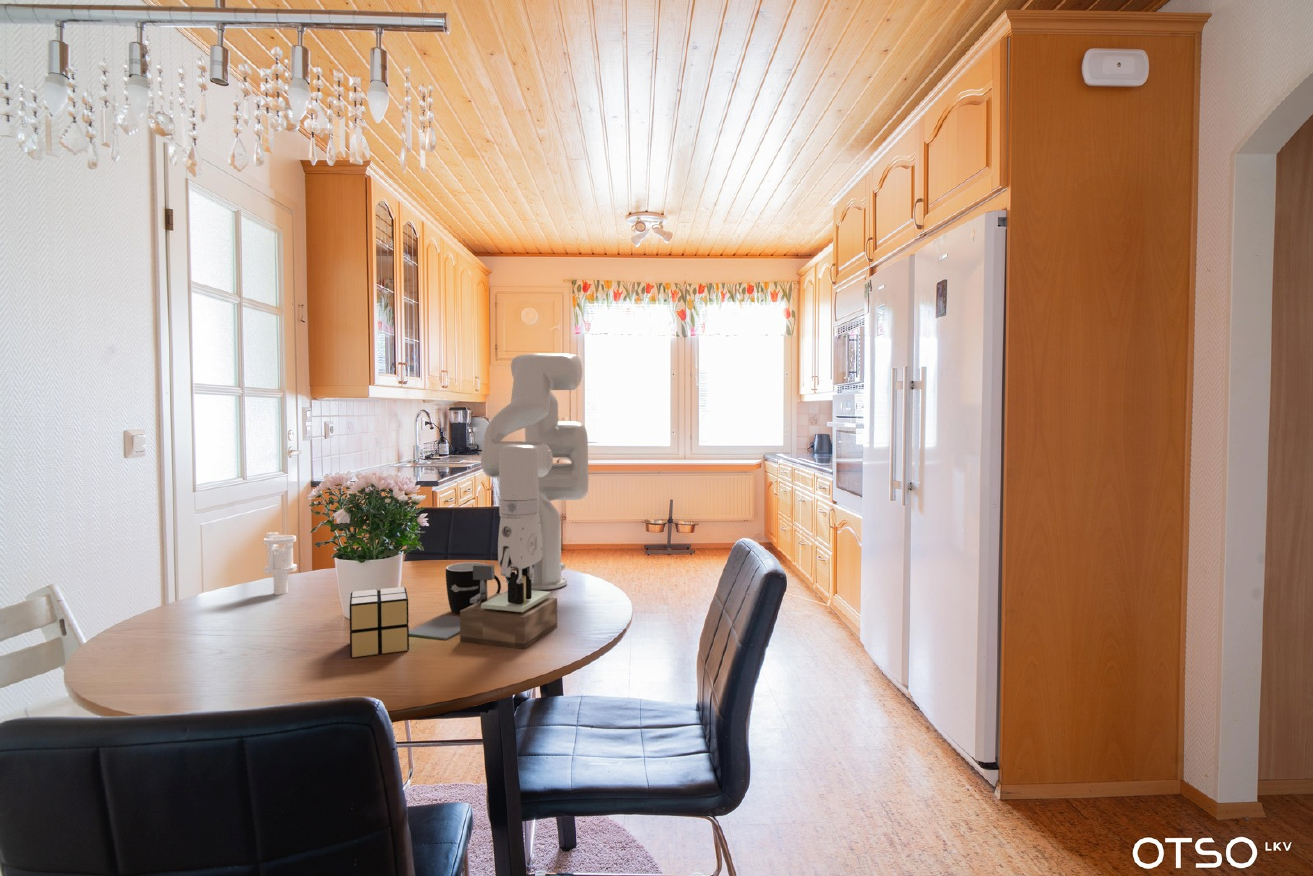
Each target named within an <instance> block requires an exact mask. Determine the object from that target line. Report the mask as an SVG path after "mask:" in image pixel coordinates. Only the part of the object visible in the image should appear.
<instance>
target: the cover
mask: <svg viewBox="0 0 1313 876" xmlns="http://www.w3.org/2000/svg"><path fill="white" fill-rule="evenodd" d="M521 583H524V603H522V604H515V603H509V602H508V590H506V591H504V592H501V593H502V594H500V595H498V596H496V597H494V598H492V599H490V600H488V601H486V602H484V603H482V604H481V608H485V609H495V610H505V611H515V612H524V611H526V610H527V609H529V608H531V607H532V606H534V605H536V604H537V603H539V602H541V601H543V600H544V599H546V598H548V597H549V598H550V597H551V596H552V595H551V594H552V593H551V591H547V590H532V598H531V599H529V600H527V599H526V576H524V575H522V582H521Z"/></svg>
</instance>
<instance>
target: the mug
mask: <svg viewBox="0 0 1313 876" xmlns="http://www.w3.org/2000/svg"><path fill="white" fill-rule="evenodd" d="M475 564H482V565H487V564H486V563H482V562H474V561H472V562H471V561H470V562H467V561H466V562H458V563H457V562H456V563H453V564H450V565H447V566H446V567H445V582H446V583H445V585H446V593H447V599H448V605H449V608H450V610H451V612H452V613H453V614H455V615H459V616H460V611H461V610H463V609H465V608H467V607H469V606H471V605H473V604H475V603H470V599H471V598H473V597H474V596H476V595H477V594H479V593H480V580H474V579H473V565H475ZM493 580H495V582H496V585H497V591H496V592H495V594H496V593H501V590H502V585H501V580H500V579H499V577H498V576H497V575H495V574H494V579H493Z"/></svg>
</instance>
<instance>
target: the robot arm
mask: <svg viewBox="0 0 1313 876" xmlns="http://www.w3.org/2000/svg"><path fill="white" fill-rule="evenodd" d="M510 372H511V376H512V379H513V381H512V387H511V388H512V389H511V398H510V403H509V404H507V405H505V406H504V407H503V408H502V409H501V410H500V411H499V412H497V413H496V414H495V415H494V417H492V419H491V420H490V421H489V422H488V423H487V424H488V425H487V426H486V428H485V431H484V435H483V436H484V437H483V440H482V441H483V442H482V448H481V454H480V455H481V458H480V463H481V470H482V471H483V473H484V474H485V475H486V476H488V477H490V478H493V479H494V478H495V479H498V480H499V482H498V484H499V485H498V487H499V489H498V491H499V492H498V494H499V499H498V501H499V504H498V505H499V511H498V513H499V517H500V519H499V520H500V521H499V528H498V539H497V540H498V541H497V558H498V559H497V560H498V561H497V562H498V565H499V567H500V568H501V569H500V571H499V574H500V576H502V577H504V578H505V582H506V584H507V591H508V602H509V603H515V604H522V603H524V583H521V582H522V575H524V576H526V599H527V600H529V599H531V598H532V590H535V591H548V590H554V589H560V588H563V587H564V586H566V585H567V584H568V579H567V577H565V576H562V571H563V570H565V569H566V565H565V563H563V562H562V519H561V514H560V512H559V510H558V509H557V508H556V506H555V505H554V504H553V503H552V502H551V501H577V500H582V499H584V498H585V497H586V496H587V494H588V491H589V442H588V441H589V439H588V431H587V429H586V426H585V425H584V424H582V423H581V422H579V421H560V420H559V403H558V400H557V397H556V396H555V394H553V392H552V391H575V390H576V389H577V388H579V386H580V385H581V382H582V378H583V367H582V361H581V359H580V357H579V356H578V355H577V354H571V353H540V352H539V353H525V354H519V355H516V356H515V357H513V358H512V359H511V362H510ZM523 429H524V440H525V441H518V440H517V441H508V440H506V441H505V440H504V441H502V440H503V439H505V438H506V437H507V436H508V435H510V434H513V433H515V432H516V431H520V430H523ZM554 459H567V460H569V462H570V463H569V462H568V463H565V462H564V463H562V462H561V463H560V462H558V463H555V462H554Z"/></svg>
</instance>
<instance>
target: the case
mask: <svg viewBox="0 0 1313 876" xmlns="http://www.w3.org/2000/svg"><path fill="white" fill-rule="evenodd" d="M502 593H503V592H500V593H496V592H495V594H492V595H490V596H487V601H488V600H490V599H492V598H494V597H496V596H498V595H500V594H502ZM482 603H484V602H478V603H475V604H473V605H471V606H469V607H467V608H465V609H463V610H461V611H460V615H459V617H460V633H459V642H461V643H471V644H477V645H478V644H479V645H488V646H496V647H497V646H498V647H503V648H513V649H514V648H515V649H523V650H525V649H527V648H528V647H530V646H531V645H532V644H534V643H536V642H537V641H538V640H540V639H542V638H543V637H544V636H546V635H548V634H549V633H550V632H552V631H553V630H555V629H556V628H558V598H556V597H550V596H549V597H548V598H546V599H544V600H543V601H541V602H539V603H537V604H536V605H534V606H532V607H531V608H529V609H527V610H526V611H524V612H515V611H505V610H495V609H485V608H481V604H482Z"/></svg>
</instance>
